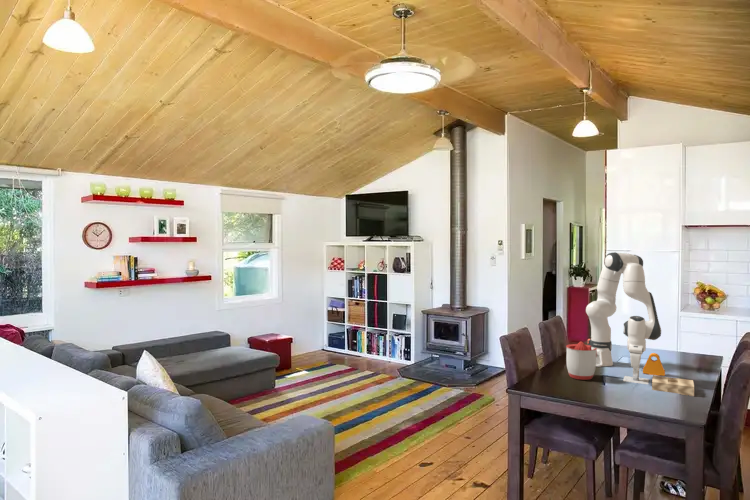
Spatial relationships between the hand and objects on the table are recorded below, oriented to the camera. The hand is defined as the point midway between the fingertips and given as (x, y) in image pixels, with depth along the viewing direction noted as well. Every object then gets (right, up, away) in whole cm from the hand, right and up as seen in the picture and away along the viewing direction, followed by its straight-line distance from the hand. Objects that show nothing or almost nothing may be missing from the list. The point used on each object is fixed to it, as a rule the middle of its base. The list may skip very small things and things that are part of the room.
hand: (635, 372), depth 275 cm
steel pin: (0, -4, 0) cm, 4 cm away
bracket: (+17, -5, +13) cm, 22 cm away
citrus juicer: (-26, -5, +6) cm, 28 cm away
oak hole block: (+10, -5, -16) cm, 20 cm away
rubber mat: (0, -5, 0) cm, 5 cm away
